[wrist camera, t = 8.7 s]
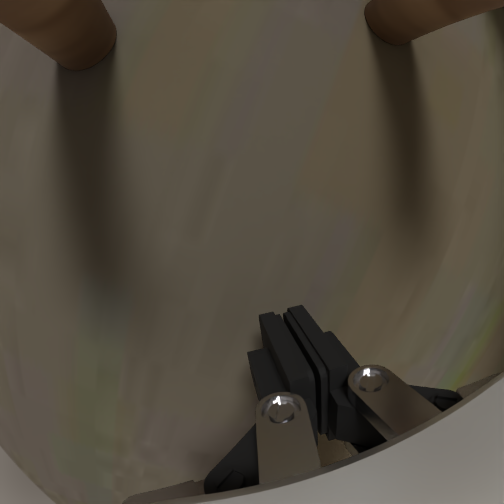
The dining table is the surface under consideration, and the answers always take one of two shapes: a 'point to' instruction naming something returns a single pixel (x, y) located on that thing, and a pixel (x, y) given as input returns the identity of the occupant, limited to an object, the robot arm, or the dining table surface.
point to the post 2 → (420, 16)
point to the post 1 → (63, 29)
